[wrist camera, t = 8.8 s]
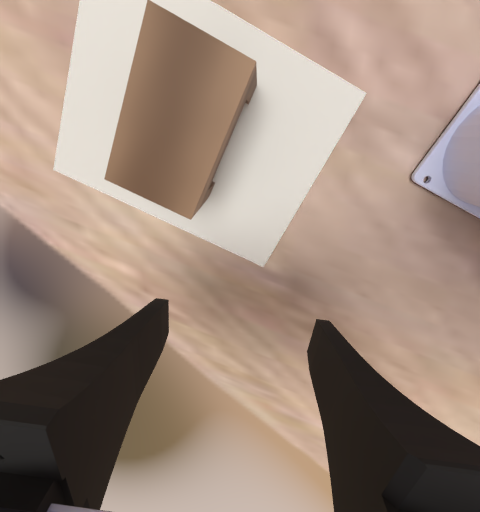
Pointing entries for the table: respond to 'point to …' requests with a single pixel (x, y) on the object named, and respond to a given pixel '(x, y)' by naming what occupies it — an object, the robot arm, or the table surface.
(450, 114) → the table surface
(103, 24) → the mat
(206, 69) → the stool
